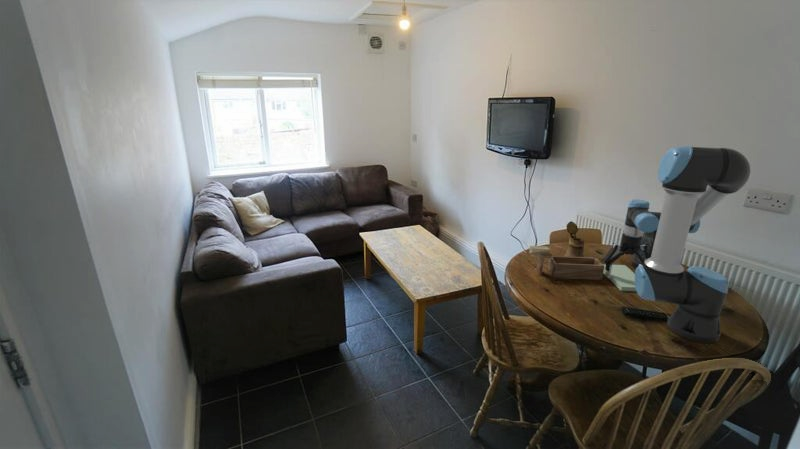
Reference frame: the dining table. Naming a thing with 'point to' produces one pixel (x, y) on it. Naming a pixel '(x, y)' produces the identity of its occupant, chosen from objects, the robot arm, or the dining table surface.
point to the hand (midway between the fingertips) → (623, 277)
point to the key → (539, 250)
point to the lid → (622, 277)
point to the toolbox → (571, 267)
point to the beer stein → (649, 242)
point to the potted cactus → (574, 242)
